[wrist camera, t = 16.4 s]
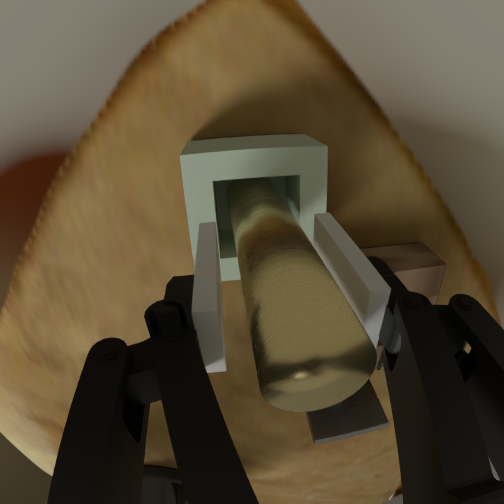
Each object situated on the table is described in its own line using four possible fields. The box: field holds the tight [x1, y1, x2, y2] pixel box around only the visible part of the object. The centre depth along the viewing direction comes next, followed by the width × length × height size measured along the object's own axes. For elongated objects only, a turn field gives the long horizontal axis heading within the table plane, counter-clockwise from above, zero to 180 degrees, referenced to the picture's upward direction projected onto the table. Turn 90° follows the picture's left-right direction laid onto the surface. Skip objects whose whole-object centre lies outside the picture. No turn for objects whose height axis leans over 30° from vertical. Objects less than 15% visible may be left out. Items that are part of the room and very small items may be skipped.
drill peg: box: [227, 177, 377, 412], centre depth 15 cm, size 3×3×16 cm
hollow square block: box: [180, 134, 328, 281], centre depth 21 cm, size 8×8×5 cm
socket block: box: [360, 243, 446, 369], centre depth 27 cm, size 14×11×4 cm
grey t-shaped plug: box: [306, 379, 389, 445], centre depth 29 cm, size 8×10×7 cm
